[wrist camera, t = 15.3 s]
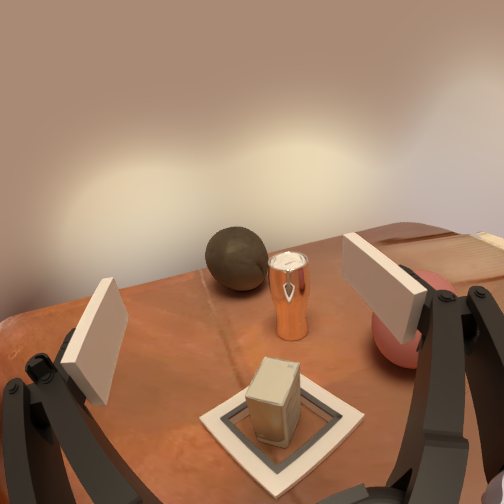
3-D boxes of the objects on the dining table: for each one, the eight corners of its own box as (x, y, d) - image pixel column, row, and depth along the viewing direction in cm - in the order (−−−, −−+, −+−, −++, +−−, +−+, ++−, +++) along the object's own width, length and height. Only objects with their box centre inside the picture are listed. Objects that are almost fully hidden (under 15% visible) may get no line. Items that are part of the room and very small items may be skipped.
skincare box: (272, 408, 36) (265, 353, 31) (301, 414, 34) (301, 360, 29) (255, 442, 31) (242, 395, 26) (286, 451, 29) (282, 405, 24)
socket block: (202, 424, 34) (198, 415, 33) (283, 369, 43) (283, 359, 42) (276, 499, 23) (275, 495, 21) (362, 421, 31) (365, 412, 30)
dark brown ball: (262, 268, 75) (255, 214, 69) (278, 295, 63) (272, 233, 56) (210, 279, 73) (198, 226, 67) (216, 310, 60) (202, 248, 54)
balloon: (418, 423, 28) (459, 349, 21) (349, 345, 45) (356, 269, 39) (477, 372, 31) (512, 298, 25) (409, 315, 49) (422, 246, 42)
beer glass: (269, 340, 50) (261, 269, 43) (279, 317, 56) (272, 250, 49) (307, 344, 47) (305, 272, 41) (313, 320, 53) (312, 251, 47)
